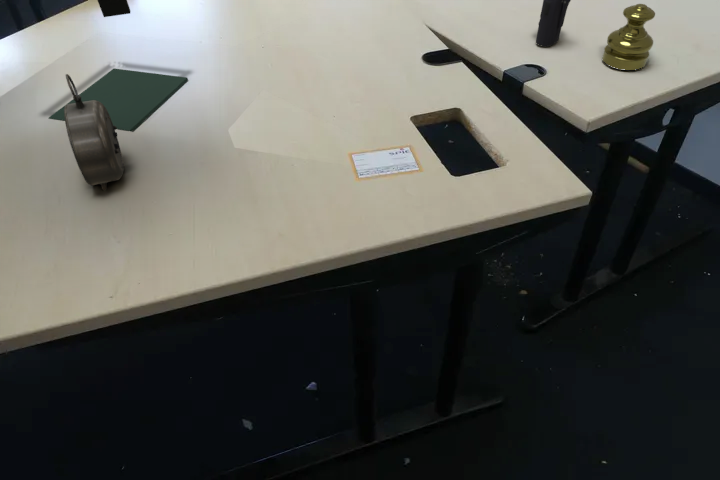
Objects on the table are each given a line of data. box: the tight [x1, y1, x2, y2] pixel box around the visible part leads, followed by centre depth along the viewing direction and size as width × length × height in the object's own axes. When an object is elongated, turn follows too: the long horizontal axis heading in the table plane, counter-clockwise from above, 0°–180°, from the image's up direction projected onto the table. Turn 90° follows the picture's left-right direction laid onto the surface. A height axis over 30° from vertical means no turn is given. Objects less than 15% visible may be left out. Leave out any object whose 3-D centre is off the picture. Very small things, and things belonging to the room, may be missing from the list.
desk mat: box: [48, 68, 189, 133], centre depth 93 cm, size 16×18×1 cm
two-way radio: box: [535, 0, 572, 47], centre depth 97 cm, size 6×4×15 cm
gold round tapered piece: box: [601, 3, 656, 71], centre depth 92 cm, size 7×7×10 cm
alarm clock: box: [64, 73, 125, 191], centre depth 71 cm, size 11×5×16 cm, turn 21°
